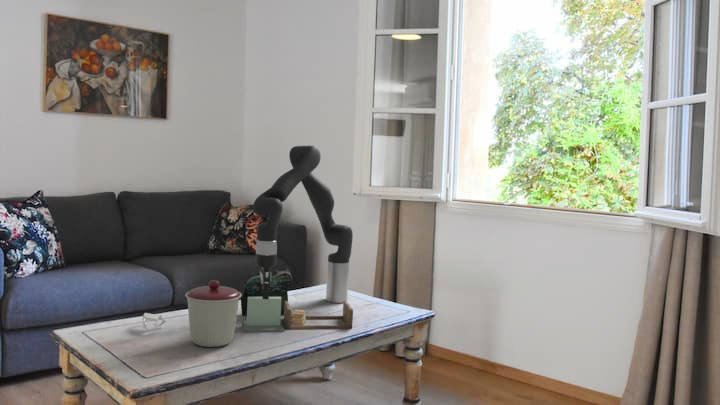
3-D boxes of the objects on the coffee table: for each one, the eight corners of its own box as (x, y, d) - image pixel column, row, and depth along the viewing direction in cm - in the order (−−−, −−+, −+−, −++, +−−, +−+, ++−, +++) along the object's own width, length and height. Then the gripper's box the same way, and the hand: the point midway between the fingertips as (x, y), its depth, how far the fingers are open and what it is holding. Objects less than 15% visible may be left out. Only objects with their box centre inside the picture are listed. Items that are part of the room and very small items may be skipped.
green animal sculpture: (289, 311, 257) (291, 262, 255) (292, 315, 251) (294, 265, 249) (239, 313, 251) (241, 262, 249) (241, 317, 245) (243, 265, 243)
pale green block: (246, 323, 235) (247, 296, 234) (279, 323, 238) (280, 296, 237) (247, 325, 232) (248, 298, 231) (280, 325, 235) (281, 298, 234)
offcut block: (294, 320, 245) (294, 309, 245) (305, 321, 245) (306, 309, 245) (291, 326, 237) (291, 314, 237) (302, 327, 237) (303, 315, 237)
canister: (251, 342, 215) (253, 280, 213) (210, 355, 200) (212, 289, 198) (213, 331, 225) (215, 272, 223) (172, 342, 210) (173, 279, 208)
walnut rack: (283, 318, 247) (284, 300, 246) (345, 318, 252) (346, 300, 251) (287, 329, 233) (288, 310, 232) (352, 328, 238) (353, 310, 237)
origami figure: (172, 329, 225) (172, 316, 224) (153, 335, 218) (153, 320, 217) (149, 323, 231) (149, 309, 231) (130, 328, 224) (130, 314, 224)
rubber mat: (243, 320, 240) (243, 319, 240) (280, 320, 243) (280, 319, 243) (244, 331, 227) (244, 330, 227) (284, 331, 230) (284, 329, 230)
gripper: (254, 248, 239) (253, 291, 240) (256, 255, 225) (255, 301, 226) (275, 249, 240) (273, 291, 242) (278, 256, 226) (276, 301, 228)
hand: (264, 296), depth 234 cm, fingers open, 8 cm apart
